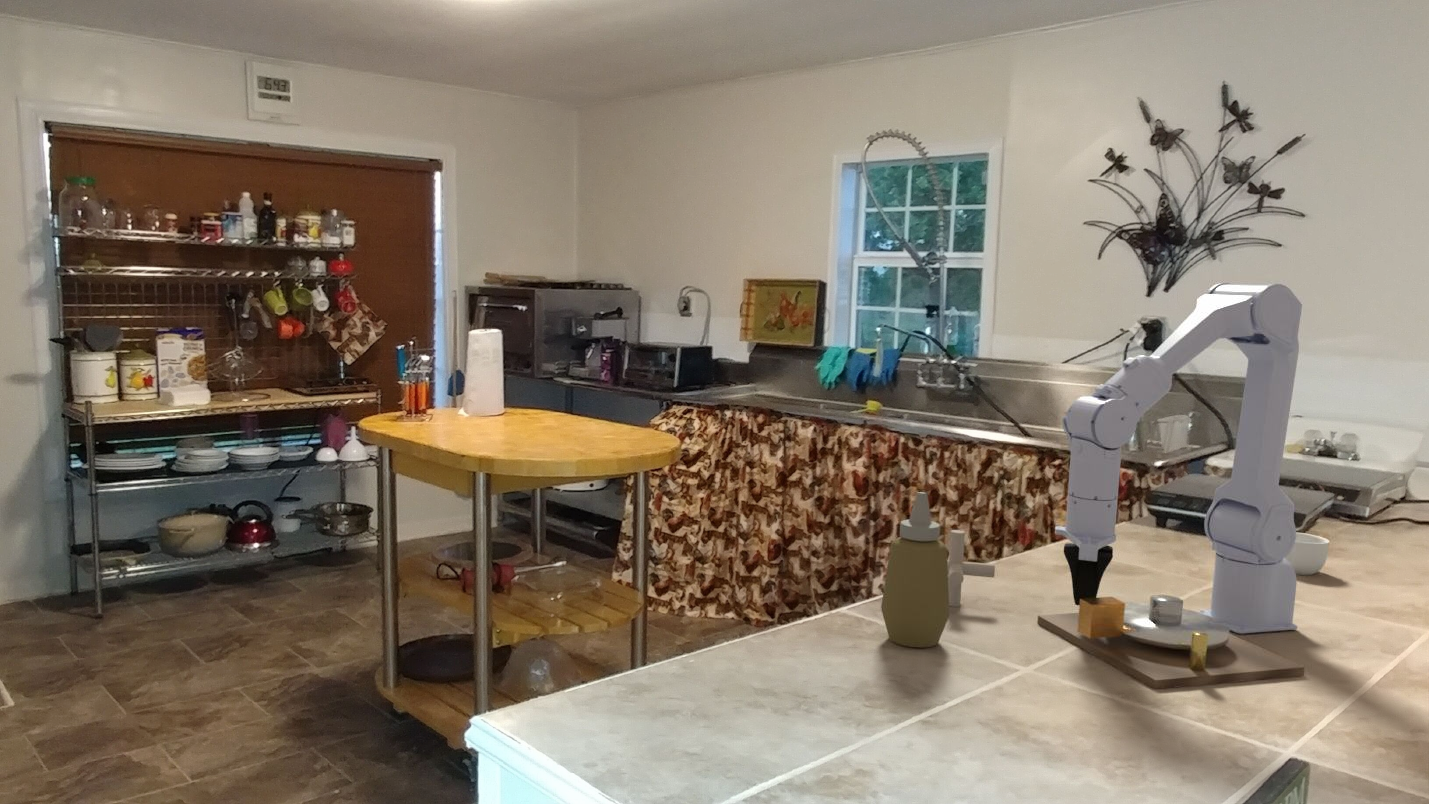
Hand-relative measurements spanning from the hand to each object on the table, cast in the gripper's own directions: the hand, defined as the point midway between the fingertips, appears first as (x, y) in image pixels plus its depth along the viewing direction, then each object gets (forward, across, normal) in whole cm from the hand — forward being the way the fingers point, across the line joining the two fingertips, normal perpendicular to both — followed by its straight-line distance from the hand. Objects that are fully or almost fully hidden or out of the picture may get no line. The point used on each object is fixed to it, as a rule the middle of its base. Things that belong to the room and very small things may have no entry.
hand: (1084, 604), depth 128 cm
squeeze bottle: (+4, +11, -19) cm, 22 cm away
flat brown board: (+4, 0, +9) cm, 10 cm away
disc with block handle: (+2, +1, +8) cm, 8 cm away
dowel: (+4, +9, +12) cm, 16 cm away
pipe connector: (+4, -6, -16) cm, 18 cm away
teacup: (+4, -49, +30) cm, 58 cm away
